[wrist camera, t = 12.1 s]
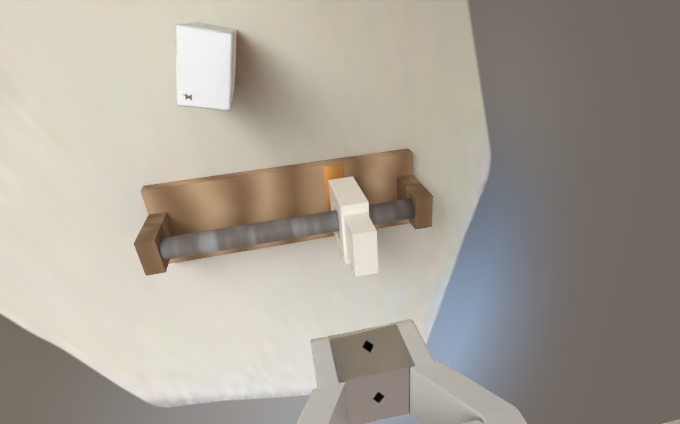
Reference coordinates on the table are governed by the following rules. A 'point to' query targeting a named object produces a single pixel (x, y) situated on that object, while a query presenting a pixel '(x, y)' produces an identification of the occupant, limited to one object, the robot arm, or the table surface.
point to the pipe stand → (272, 207)
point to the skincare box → (205, 65)
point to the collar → (354, 226)
